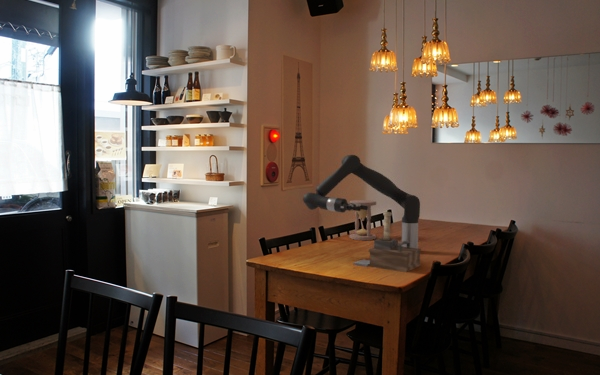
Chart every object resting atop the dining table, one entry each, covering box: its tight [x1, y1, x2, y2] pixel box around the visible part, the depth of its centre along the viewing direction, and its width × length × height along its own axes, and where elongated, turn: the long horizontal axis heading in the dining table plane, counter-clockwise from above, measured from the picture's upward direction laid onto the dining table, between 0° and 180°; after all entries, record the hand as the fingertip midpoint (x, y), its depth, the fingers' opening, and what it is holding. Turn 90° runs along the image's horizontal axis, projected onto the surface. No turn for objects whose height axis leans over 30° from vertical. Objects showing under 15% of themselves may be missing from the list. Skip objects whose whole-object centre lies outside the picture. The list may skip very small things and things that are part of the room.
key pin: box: [382, 211, 393, 241], centre depth 265 cm, size 4×4×18 cm
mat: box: [353, 259, 370, 267], centre depth 268 cm, size 10×8×1 cm
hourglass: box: [349, 199, 377, 241], centre depth 347 cm, size 18×18×25 cm
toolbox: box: [368, 237, 422, 273], centre depth 262 cm, size 17×21×13 cm
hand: (363, 208), depth 271 cm, fingers open, 8 cm apart
